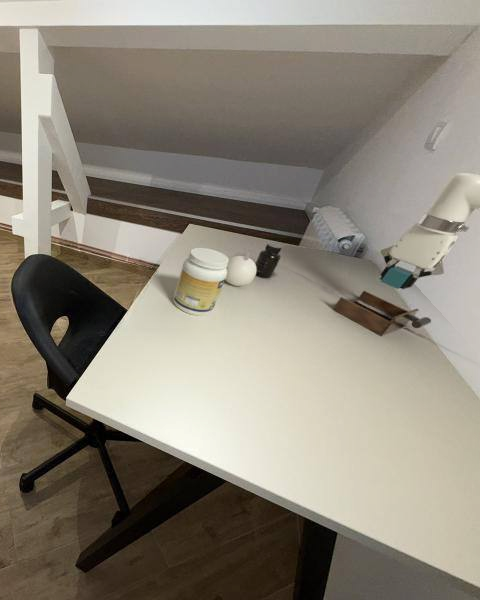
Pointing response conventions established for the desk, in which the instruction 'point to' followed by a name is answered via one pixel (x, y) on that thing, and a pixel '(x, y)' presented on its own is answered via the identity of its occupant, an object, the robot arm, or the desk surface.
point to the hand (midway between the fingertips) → (393, 282)
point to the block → (396, 276)
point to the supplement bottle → (268, 260)
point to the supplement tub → (200, 281)
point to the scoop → (378, 314)
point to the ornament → (240, 270)
